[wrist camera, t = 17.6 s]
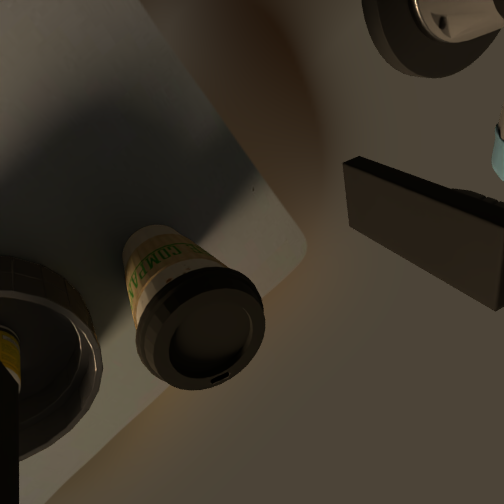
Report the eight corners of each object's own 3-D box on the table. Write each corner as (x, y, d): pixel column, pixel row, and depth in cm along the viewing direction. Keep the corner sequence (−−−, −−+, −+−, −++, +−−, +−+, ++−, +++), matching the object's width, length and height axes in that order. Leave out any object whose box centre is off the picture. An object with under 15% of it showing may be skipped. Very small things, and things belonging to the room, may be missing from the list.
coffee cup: (192, 194, 41) (267, 259, 29) (208, 278, 46) (278, 364, 34) (88, 223, 38) (125, 311, 26) (117, 311, 43) (160, 419, 31)
